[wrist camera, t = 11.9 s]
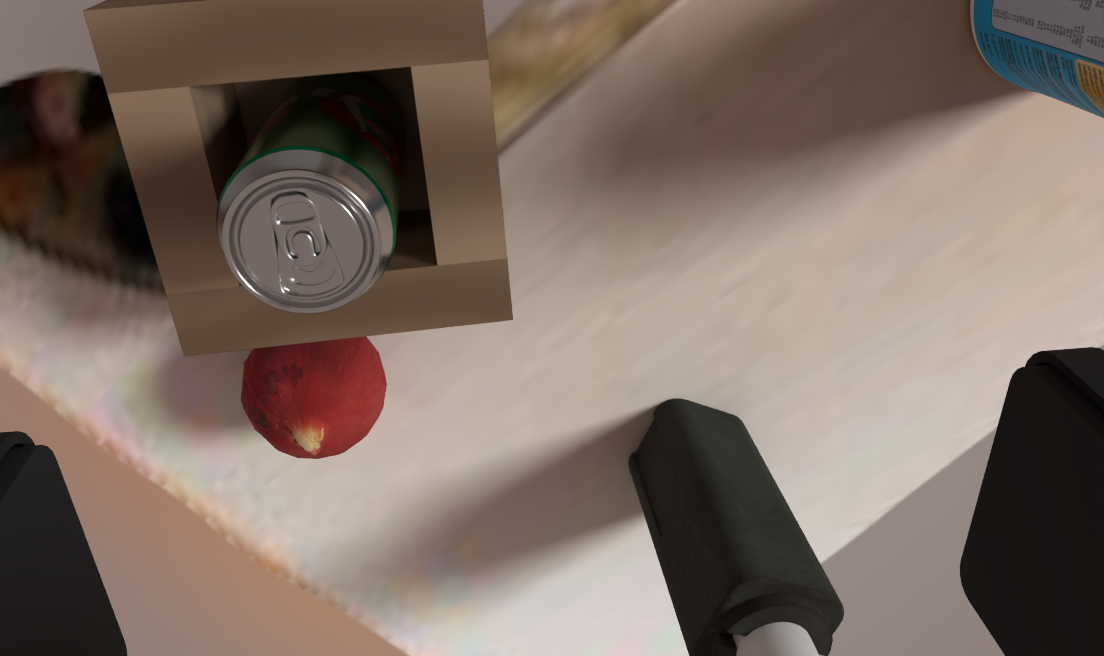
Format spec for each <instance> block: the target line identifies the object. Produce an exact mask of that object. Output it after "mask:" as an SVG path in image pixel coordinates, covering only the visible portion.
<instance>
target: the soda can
mask: <svg viewBox="0 0 1104 656" xmlns="http://www.w3.org/2000/svg"><path fill="white" fill-rule="evenodd" d="M405 147H406V130H405V123H404V120H403V117H402V114H401V112H400V109H399V107H398V105H397V104H396V102H395V101H394V99H393V98H392V96H391V95H390V94H389V93H388V92H387V91H386V90H385V89H384V88H383V87H382V86H381V85H379V84H378V83H377V82H376V81H374V80H372V79H371V78H369V77H367V76H365V75H363V74H360V73H358V72H347V73H335V74H324V75H313V76H303V77H302V78H300V79H299V80H297V81H295V82H294V83H293V84H292V85H291V86H290V87H289V88H288V89H287V90H286V92H285V93H284V94H283V96H282V97H281V99H280V100H279V102H278V103H277V105H276V106H275V108H274V110H273V111H272V113H271V114H270V116H269V117H268V119H267V121H266V122H265V124H264V125H263V127H262V128H261V130H260V131H259V133H258V135H257V136H256V138H255V139H254V141H253V142H252V144H251V146H250V147H249V149H248V150H247V152H246V153H245V155H244V156H243V158H242V160H241V161H240V163H239V164H238V166H237V167H236V169H235V171H234V172H233V174H232V175H231V177H230V178H229V180H228V181H227V183H226V185H225V187H224V189H223V191H222V193H221V195H220V199H219V202H218V206H217V213H216V231H217V237H218V241H219V245H220V248H221V250H222V252H223V255H224V257H225V259H226V261H227V263H228V265H229V267H230V269H231V271H232V273H233V274H234V276H235V277H236V279H237V280H238V281H239V282H240V284H241V285H242V286H243V287H244V288H245V289H246V290H247V291H248V292H249V293H251V294H252V295H253V296H254V297H256V298H257V299H259V300H260V301H262V302H263V303H265V304H268V305H270V306H272V307H274V308H277V309H280V310H283V311H286V312H292V313H297V314H316V313H323V312H327V311H332V310H335V309H337V308H339V307H342V306H344V305H346V304H347V303H349V302H351V301H354V300H355V299H357V298H359V297H360V296H362V295H364V294H365V293H366V292H367V291H369V290H370V289H371V288H372V287H373V286H374V285H375V284H376V283H377V282H378V281H379V280H380V278H381V277H382V276H383V274H384V273H385V271H386V269H387V268H388V266H389V263H390V261H391V258H392V256H393V252H394V247H395V242H396V232H397V223H398V213H399V204H400V195H401V185H402V176H403V166H404V157H405Z"/></svg>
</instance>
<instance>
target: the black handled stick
mask: <svg viewBox="0 0 1104 656" xmlns="http://www.w3.org/2000/svg"><path fill="white" fill-rule="evenodd" d="M654 417H655V419H654V421H653V423H652V424H651V426H650V428H649V430H648V432H647V434H646V435H645V437H644V439H643V441H642V443H641V445H640V446H639V448H638V450H637V452H636V453H633V454H631V456H630V459H629V469H630V472H631V475H632V478H633V481H634V484H635V488H636V491H637V494H638V497H639V500H640V503H641V506H642V509H643V512H644V516H645V519H646V522H647V525H648V528H649V531H650V534H651V537H652V541H653V544H654V547H655V550H656V553H657V556H658V559H659V562H660V566H661V569H662V572H663V575H664V578H665V581H666V584H667V587H668V590H669V594H670V597H671V600H672V603H673V606H674V609H675V612H676V615H677V619H678V622H679V625H680V628H681V631H682V634H683V637H684V640H685V643H686V647H687V650H688V653H689V656H819V654H820V655H824V656H828V655H829V652H830V650H831V645H832V641H833V639H832V635H833V633H834V632H835V631H836V629H837V627H838V626H839V625H840V623H841V621H842V620H843V616H844V610H843V605H842V603H841V601H840V600H839V598H838V596H837V594H836V592H835V590H834V588H833V586H832V585H831V583H830V581H829V579H828V577H827V576H826V574H825V572H824V570H823V568H822V566H821V565H820V563H819V561H818V559H817V557H816V555H815V554H814V552H813V550H812V548H811V546H810V544H809V543H808V541H807V539H806V537H805V535H804V533H803V532H802V530H801V528H800V526H799V524H798V522H797V521H796V519H795V517H794V515H793V513H792V511H791V510H790V508H789V506H788V504H787V502H786V500H785V499H784V497H783V495H782V493H781V491H780V489H779V488H778V486H777V484H776V482H775V480H774V479H773V477H772V475H771V473H770V471H769V469H768V468H767V466H766V464H765V462H764V460H763V458H762V457H761V455H760V453H759V451H758V449H757V447H756V446H755V444H754V442H753V440H752V438H751V436H750V435H749V433H748V431H747V429H746V427H745V425H744V424H743V422H742V420H740V419H739V418H738V417H737V416H734V415H732V414H729V413H726V412H723V411H720V410H716V409H713V408H710V407H707V406H704V405H701V404H698V403H694V402H691V401H688V400H684V399H672V400H669V401H666V402H664V403H663V404H661V405H660V406H659V407H658V408H657V409H656V411H655V412H654Z"/></svg>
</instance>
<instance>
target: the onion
mask: <svg viewBox="0 0 1104 656" xmlns="http://www.w3.org/2000/svg"><path fill="white" fill-rule="evenodd" d="M386 386H387V383H386V378H385V373H384V370H383V366H382V363H381V359H380V355H379V352H378V351H377V350H376V348H375V347H374V346H373V345H372V343H371V342H370V341H369V340H368V338H367V337H366V336H363V337H354V338H345V339H336V340H327V341H318V342H309V343H300V344H291V345H282V346H272V347H263V348H254V349H253V351H252V352H251V353H250V355H249V356H248V358H247V359H246V361H245V362H244V372H243V383H242V393H241V402H242V405H243V408H244V410H245V412H246V414H247V416H248V418H249V419H250V421H251V423H252V425H253V427H254V429H255V430H256V431H257V432H259V433H260V434H261V435H262V436H263V437H264V438H265V439H266V440H267V441H268V442H269V443H270V444H271V445H272V446H273V447H274V448H276V449H277V450H278V451H281V452H283V453H286V454H289V455H291V456H294V457H297V458H312V459H319V458H324V457H329V456H334V455H338V454H341V453H343V452H345V451H346V450H348V449H349V448H351V447H352V446H353V445H355V444H356V443H358V442H359V441H361V440H362V439H363V438H364V437H365V436H366V435H367V434H368V433H369V431H370V430H371V428H372V427H373V425H374V423H375V422H376V420H377V419H378V417H379V416H380V413H381V411H382V409H383V405H384V398H385V392H386Z"/></svg>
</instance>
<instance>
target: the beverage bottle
mask: <svg viewBox="0 0 1104 656" xmlns="http://www.w3.org/2000/svg"><path fill="white" fill-rule="evenodd" d="M970 19H971V28H972V33H973V37H974V40H975V43H976V46H977V48H978V50H979V52H980V54H981V56H982V57H983V59H984V60H985V62H986V63H987V64H988V66H989V67H990V68H991V69H992V70H993V71H994V72H995V73H997V74H998V75H999V76H1000V77H1002V78H1003V79H1005V80H1006V81H1008V82H1010V83H1012V84H1015V85H1017V86H1020V87H1022V88H1025V89H1028V90H1031V91H1034V92H1038V93H1041V94H1044V95H1047V96H1049V97H1052V98H1055V99H1058V100H1060V101H1063V102H1065V103H1068V104H1070V105H1073V106H1075V107H1078V108H1080V109H1083V110H1085V111H1088V112H1090V113H1093V114H1095V115H1098V116H1100V117H1103V118H1104V0H971V5H970Z"/></svg>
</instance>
